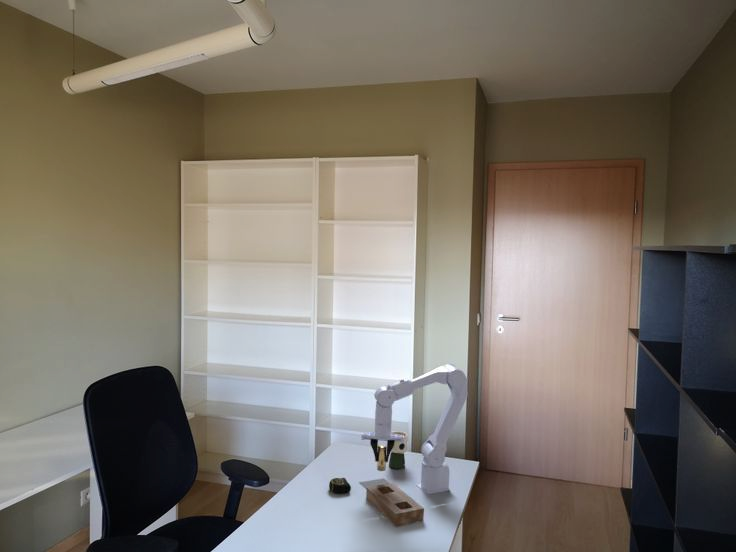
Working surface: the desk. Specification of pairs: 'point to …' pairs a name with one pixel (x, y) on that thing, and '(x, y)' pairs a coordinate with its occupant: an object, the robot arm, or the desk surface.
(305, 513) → the desk surface
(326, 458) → the desk surface
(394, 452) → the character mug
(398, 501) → the block
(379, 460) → the brass pin
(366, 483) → the rubber mat
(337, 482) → the tape measure
